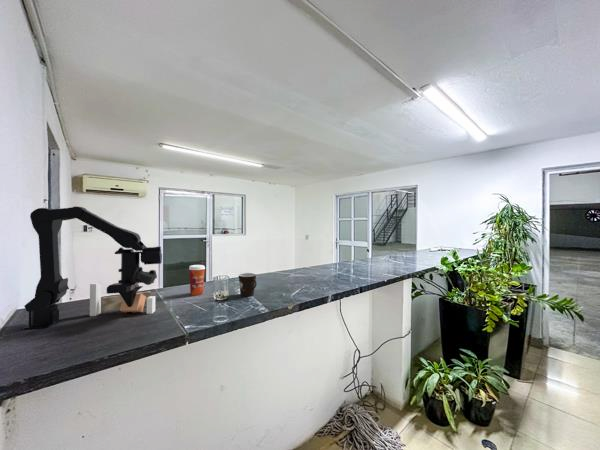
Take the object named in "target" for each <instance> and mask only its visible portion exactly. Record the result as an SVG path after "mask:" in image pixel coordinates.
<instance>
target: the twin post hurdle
mask: <svg viewBox="0 0 600 450" xmlns="http://www.w3.org/2000/svg"><path fill="white" fill-rule="evenodd" d="M154 312H156V295H151V296H150V297H148V298H147V304H146V315H148V314H150V315H151V314H154ZM101 313H102V282H100V281H96V282H93V283H90V284H89V317H97V316H99V315H100V314H101Z"/></svg>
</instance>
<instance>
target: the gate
mask: <svg viewBox="0 0 600 450" xmlns="http://www.w3.org/2000/svg"><path fill="white" fill-rule="evenodd" d="M136 294H142V295H144V296H146V300H145V304H144V306H145V305H147V298H148V297H150V296H152V295H151V294H152V292H151V291H150V290H148V291H143V292H137V293H136ZM122 300H123V298H122V296H121V295H120V294H119V295H113V296H105V297H104V296H103V297H102V302H101V312H106V311H113V310H118V309H119V310H120V306H121V303H122Z"/></svg>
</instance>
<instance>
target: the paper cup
mask: <svg viewBox="0 0 600 450" xmlns="http://www.w3.org/2000/svg"><path fill="white" fill-rule="evenodd" d="M205 270H206V266H205V265H204V264H193V265H192V264H191V265H189V268H188V272H189V291H190V292H189V293H190V296H200V295H203V293H204V284H205V283H204V281H205V280H204V279H205Z"/></svg>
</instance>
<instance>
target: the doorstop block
mask: <svg viewBox="0 0 600 450" xmlns="http://www.w3.org/2000/svg"><path fill="white" fill-rule="evenodd" d="M145 300H146V296H144V295H142V294H136V296H135V299H134V302H133V305H132V307H128V306H127V304H126V303H125V301H124V299H123V300H122V303H121V306H120V309H119V311H120V312H121V313H122V312H123V313H125V314H126V313H127V312H132V313H143V311H144V308H145V305H146V304H145ZM144 304H145V305H144Z"/></svg>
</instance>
